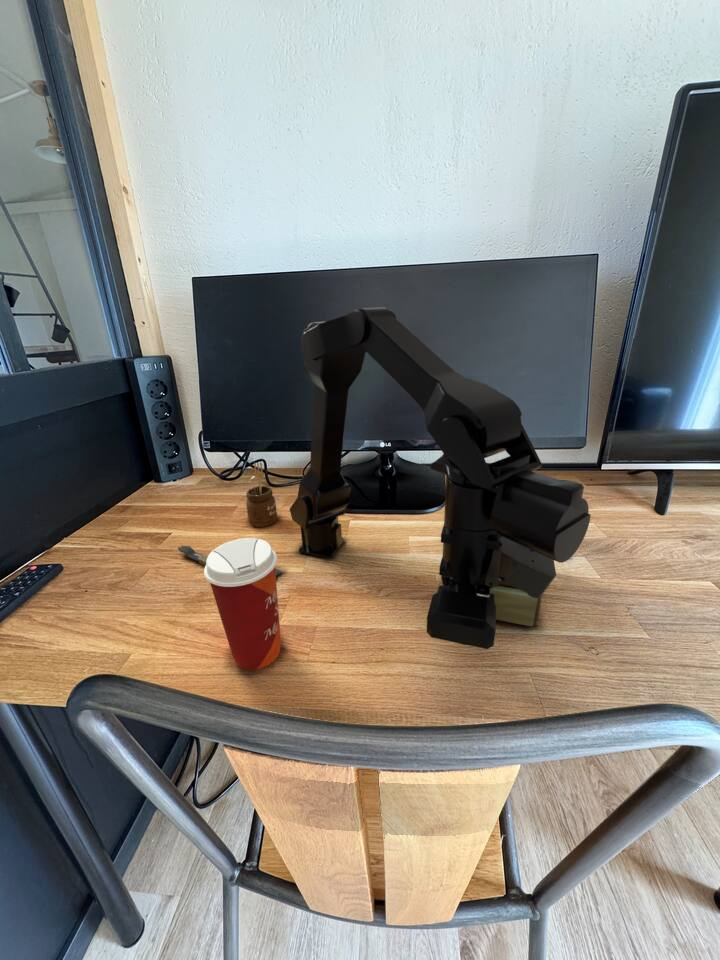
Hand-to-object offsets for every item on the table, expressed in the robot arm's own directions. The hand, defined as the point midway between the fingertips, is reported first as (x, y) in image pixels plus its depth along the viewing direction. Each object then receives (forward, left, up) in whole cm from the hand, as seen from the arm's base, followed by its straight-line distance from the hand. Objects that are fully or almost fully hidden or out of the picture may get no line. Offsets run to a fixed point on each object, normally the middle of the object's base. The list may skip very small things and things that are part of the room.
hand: (463, 632), depth 48 cm
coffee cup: (-25, -6, -4) cm, 26 cm away
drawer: (+3, +13, -3) cm, 14 cm away
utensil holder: (-43, +25, -4) cm, 50 cm away
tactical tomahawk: (-41, +9, -4) cm, 42 cm away
